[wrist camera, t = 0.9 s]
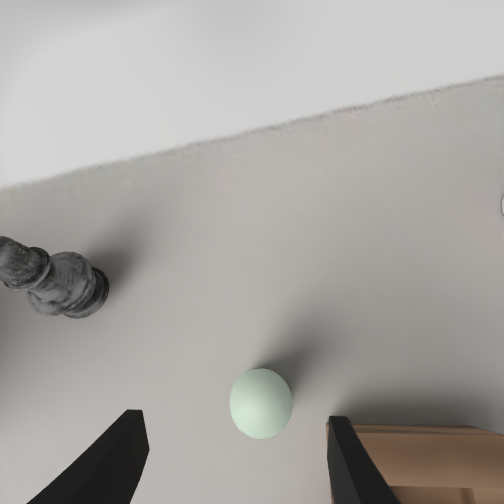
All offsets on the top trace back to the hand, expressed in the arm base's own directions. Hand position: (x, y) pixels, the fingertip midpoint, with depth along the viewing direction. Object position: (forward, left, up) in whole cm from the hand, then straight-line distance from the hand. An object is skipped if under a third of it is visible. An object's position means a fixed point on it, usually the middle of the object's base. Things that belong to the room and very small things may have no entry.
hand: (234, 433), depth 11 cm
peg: (0, -1, -15) cm, 15 cm away
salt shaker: (+9, +17, -15) cm, 25 cm away
